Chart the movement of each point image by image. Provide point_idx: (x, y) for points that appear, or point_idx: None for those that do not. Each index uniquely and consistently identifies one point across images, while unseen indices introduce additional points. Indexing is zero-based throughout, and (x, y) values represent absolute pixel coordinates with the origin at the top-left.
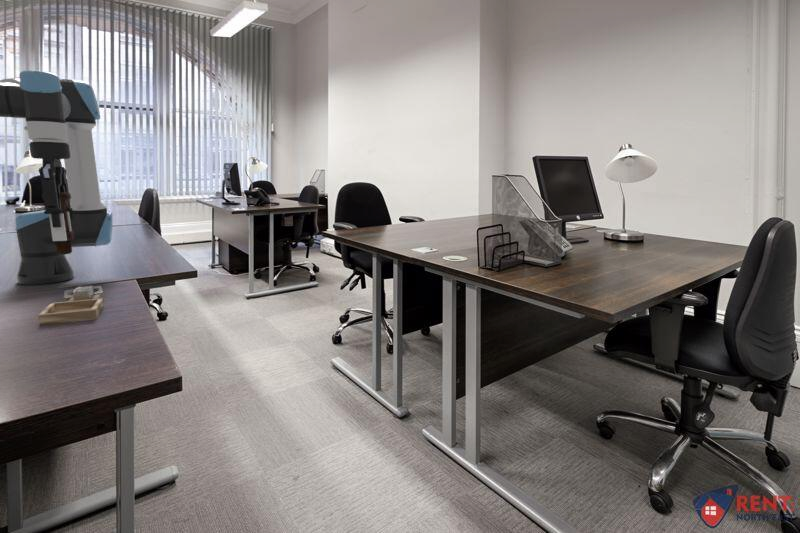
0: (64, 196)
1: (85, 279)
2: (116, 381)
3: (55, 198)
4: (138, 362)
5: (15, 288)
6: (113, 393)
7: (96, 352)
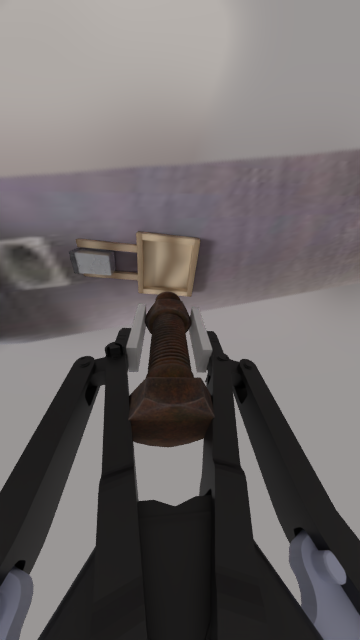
0: (206, 395)
1: None
2: None
3: (272, 399)
4: None
5: (8, 339)
6: None
7: (320, 230)
